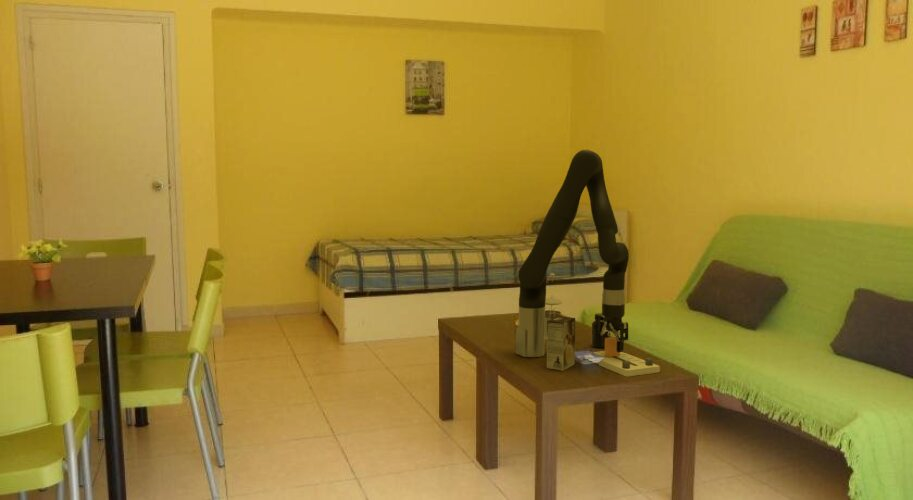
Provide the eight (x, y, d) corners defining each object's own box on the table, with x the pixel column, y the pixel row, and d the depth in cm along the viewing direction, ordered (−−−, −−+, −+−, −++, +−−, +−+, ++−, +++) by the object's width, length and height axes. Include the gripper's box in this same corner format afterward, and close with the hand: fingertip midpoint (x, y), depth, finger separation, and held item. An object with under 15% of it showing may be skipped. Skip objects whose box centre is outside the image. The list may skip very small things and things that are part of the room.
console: (626, 376, 244) (626, 364, 244) (584, 359, 266) (584, 347, 266) (659, 372, 250) (660, 360, 249) (615, 355, 271) (616, 344, 271)
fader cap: (608, 357, 260) (609, 339, 259) (604, 355, 263) (604, 337, 262) (619, 355, 262) (620, 338, 261) (615, 353, 264) (615, 336, 264)
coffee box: (557, 362, 262) (558, 315, 260) (575, 364, 259) (576, 317, 257) (546, 368, 255) (546, 320, 253) (563, 371, 251) (564, 322, 249)
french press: (563, 334, 304) (564, 271, 301) (564, 341, 293) (565, 275, 290) (538, 333, 305) (539, 271, 302) (538, 340, 294) (539, 275, 291)
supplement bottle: (610, 349, 280) (610, 316, 279) (590, 348, 282) (591, 315, 280) (610, 344, 287) (610, 312, 286) (591, 343, 288) (592, 312, 287)
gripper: (592, 299, 265) (591, 345, 267) (616, 306, 252) (615, 355, 254) (610, 297, 268) (609, 343, 270) (635, 304, 255) (634, 352, 257)
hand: (612, 349), depth 262 cm, fingers open, 8 cm apart
